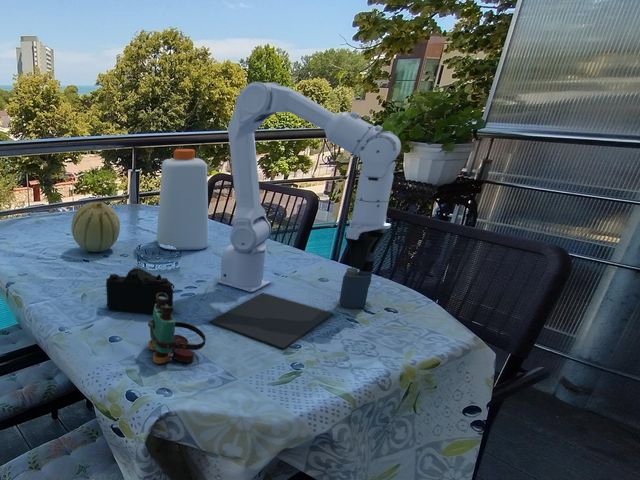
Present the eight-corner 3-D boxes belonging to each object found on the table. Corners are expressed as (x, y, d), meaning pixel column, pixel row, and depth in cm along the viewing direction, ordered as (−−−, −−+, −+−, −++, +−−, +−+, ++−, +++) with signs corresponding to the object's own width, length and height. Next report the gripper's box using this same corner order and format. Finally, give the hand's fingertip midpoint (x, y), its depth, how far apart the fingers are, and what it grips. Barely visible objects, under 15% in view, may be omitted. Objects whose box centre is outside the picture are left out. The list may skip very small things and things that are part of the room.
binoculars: (216, 311, 75) (155, 310, 74) (206, 368, 79) (148, 367, 78) (201, 290, 83) (146, 289, 82) (193, 342, 87) (141, 341, 86)
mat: (209, 322, 93) (209, 320, 93) (262, 294, 105) (262, 292, 105) (283, 350, 82) (283, 348, 82) (333, 314, 95) (333, 313, 94)
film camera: (179, 300, 104) (180, 261, 101) (170, 318, 96) (170, 277, 92) (115, 293, 109) (114, 257, 105) (101, 310, 100) (99, 271, 97)
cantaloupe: (92, 241, 150) (90, 194, 144) (130, 247, 142) (129, 198, 136) (62, 253, 139) (58, 203, 133) (101, 261, 131) (98, 208, 125)
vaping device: (367, 308, 96) (378, 254, 91) (340, 307, 98) (349, 254, 92) (364, 302, 99) (374, 249, 93) (337, 302, 100) (346, 249, 94)
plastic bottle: (210, 250, 137) (215, 151, 126) (159, 252, 137) (160, 153, 126) (202, 236, 151) (206, 146, 140) (155, 238, 151) (156, 148, 140)
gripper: (380, 208, 82) (366, 280, 87) (407, 195, 91) (393, 261, 96) (339, 203, 87) (328, 271, 92) (369, 191, 96) (358, 254, 101)
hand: (359, 266), depth 95 cm, fingers closed on vaping device, 2 cm apart
